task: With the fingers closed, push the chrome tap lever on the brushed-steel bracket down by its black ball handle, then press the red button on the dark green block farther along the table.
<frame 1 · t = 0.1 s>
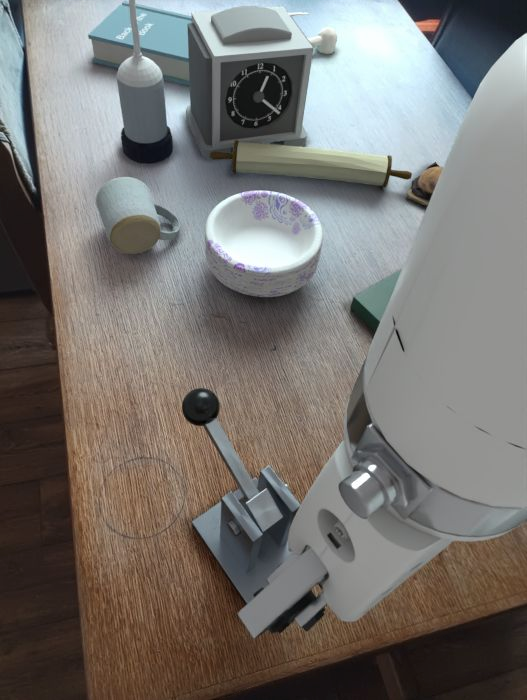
hand: (353, 552, 33), 22 cm above the table, tool pointing down, fingers open, 9 cm apart
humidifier: (148, 149, 89), on the table
button: (417, 298, 69), point 4 cm above the table, slide at 0.1 cm
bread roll: (437, 192, 89), on the table
tap lever: (229, 457, 46), point 12 cm above the table, hinge at 28.0°
tap bracket: (252, 542, 54), on the table
ceramic mug: (142, 235, 78), on the table
button block: (407, 320, 72), on the table
book: (165, 56, 107), on the table
paper bowls: (260, 271, 76), on the table
rolling pin: (308, 178, 88), on the table
faucet: (296, 57, 110), on the table
alarm clock: (245, 130, 95), on the table
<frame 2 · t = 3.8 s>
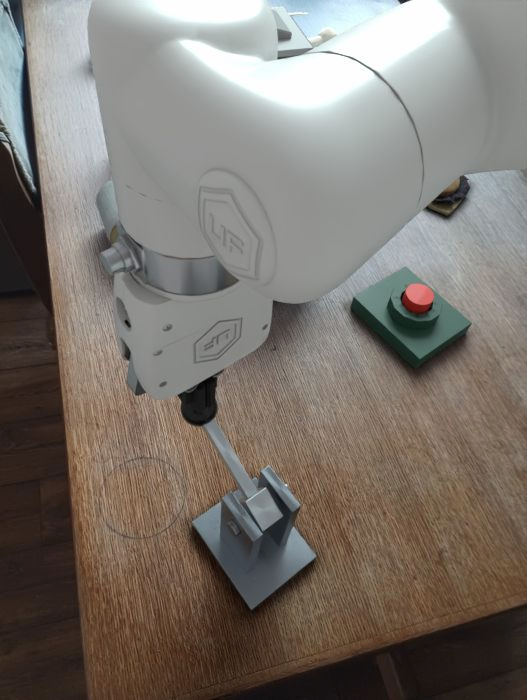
hand: (196, 396, 45), 16 cm above the table, tool pointing down, fingers closed
tap lever: (228, 457, 46), point 12 cm above the table, hinge at 24.1°, touching gripper
everything else where it was.
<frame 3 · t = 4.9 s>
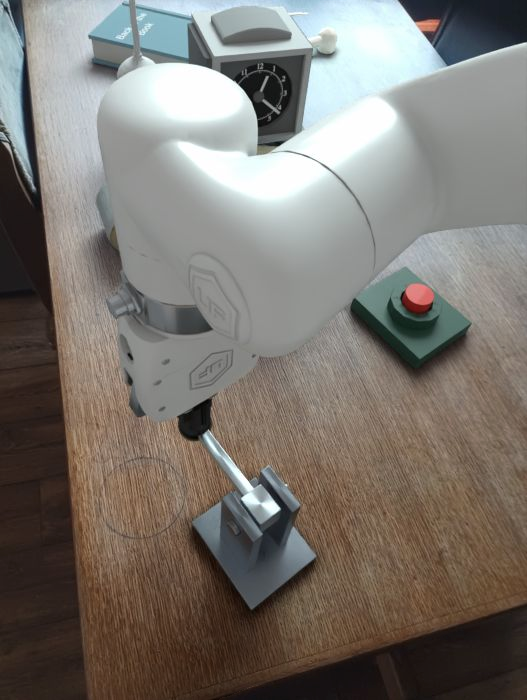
hand: (193, 415, 49), 11 cm above the table, tool pointing down, fingers closed
tap lever: (225, 463, 48), point 10 cm above the table, hinge at -1.8°, touching gripper
everything else where it was.
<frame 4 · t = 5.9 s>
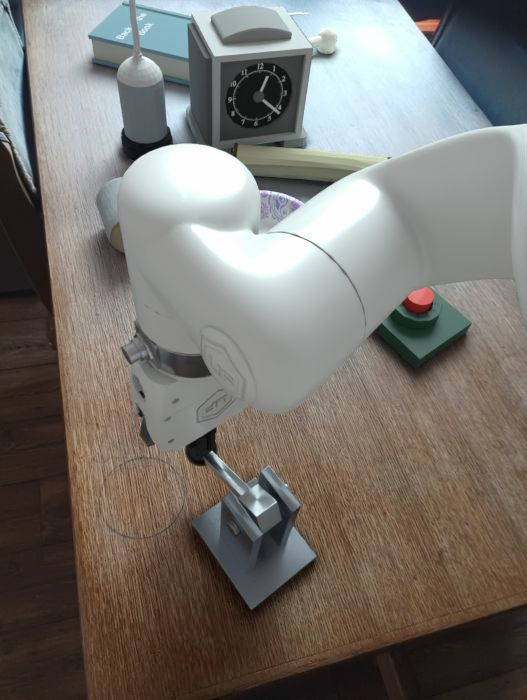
hand: (198, 440, 52), 7 cm above the table, tool pointing down, fingers closed
tap lever: (227, 476, 50), point 8 cm above the table, hinge at -25.4°, touching gripper
everything else where it was.
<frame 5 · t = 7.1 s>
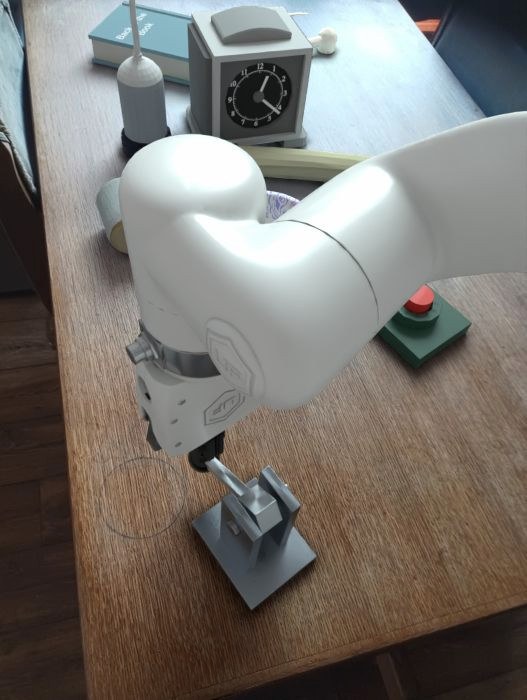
hand: (207, 445, 51), 8 cm above the table, tool pointing down, fingers closed
tap lever: (229, 480, 50), point 7 cm above the table, hinge at -30.6°
everything else where it was.
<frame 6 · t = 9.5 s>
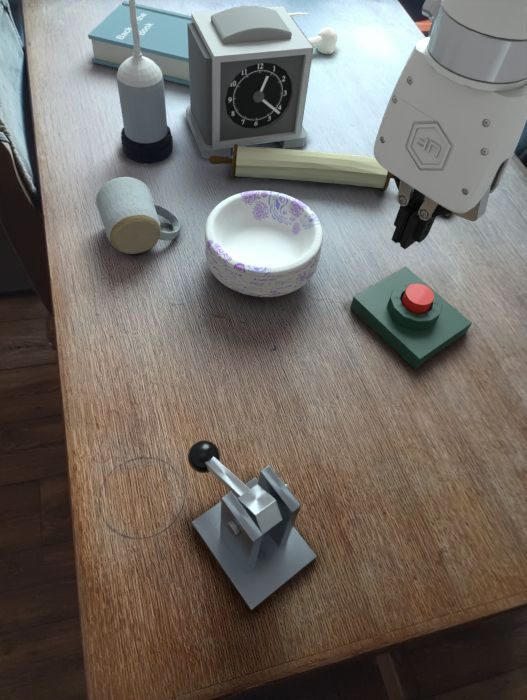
hand: (407, 238, 52), 20 cm above the table, tool pointing down, fingers closed
nothing on the table moved.
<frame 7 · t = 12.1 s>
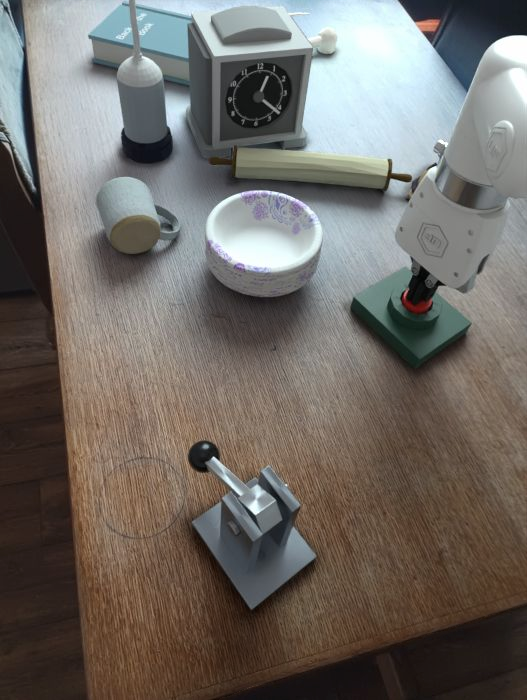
hand: (417, 297, 69), 5 cm above the table, tool pointing down, fingers closed
button: (415, 302, 69), point 4 cm above the table, slide at -0.7 cm, touching gripper
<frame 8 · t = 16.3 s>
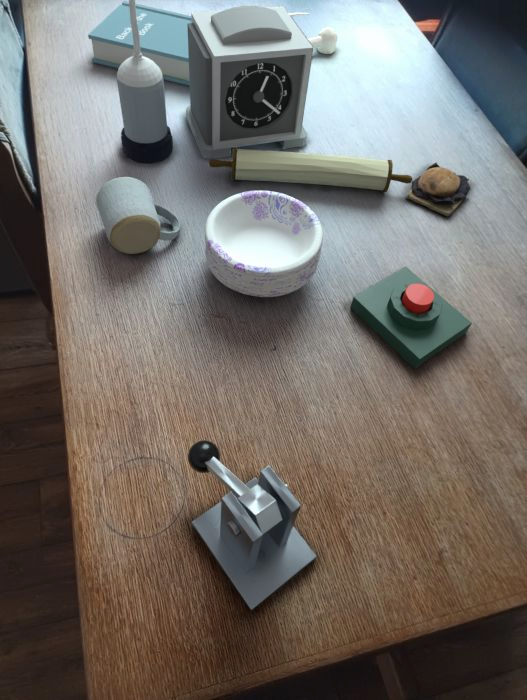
button: (417, 298, 69), point 4 cm above the table, slide at 0.1 cm
at the end: tap lever at -31° (first picture: +28°); button pushed in 1.1 cm at the most during the clip, back to where it started at the end; button slide at 0.1 cm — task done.
